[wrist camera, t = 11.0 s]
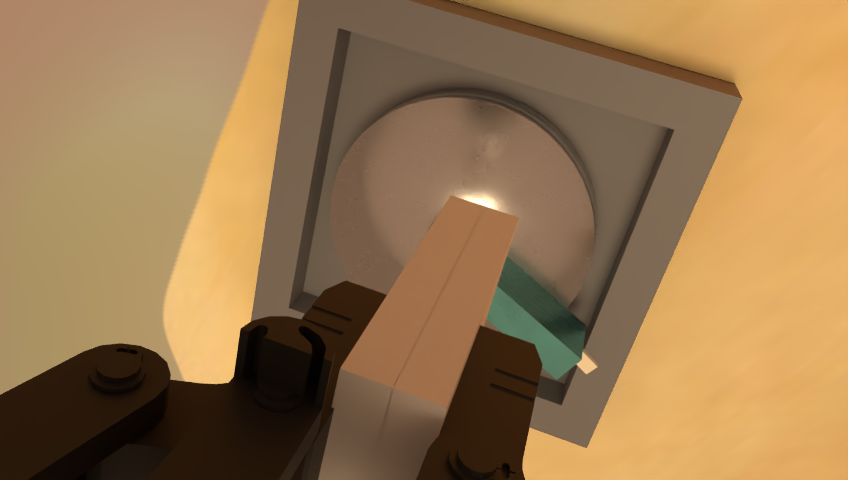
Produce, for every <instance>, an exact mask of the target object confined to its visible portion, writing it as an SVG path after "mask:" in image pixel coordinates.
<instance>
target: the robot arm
mask: <svg viewBox="0 0 848 480" xmlns="http://www.w3.org/2000/svg"><path fill="white" fill-rule="evenodd" d="M518 220H519V217H516V216H513V215H510V214H507V213H504V212H501V211H498V210H495V209H492V208H489V207H486V206H483V205H479V204H476V203H473V202H470V201H467V200H464V199H461V198H458V197H455V196H452V195H451V196H450V197H449V199H448V201H447V202H446V204H445V205H444V207H443V208H442V210H441V211H440V213H439V215H438V216H437V218H436V219H435V221H434V222H433V224H432V226H431V227H430V229H429V230H428V232H427V233H426V235H425V237H424V238H423V240H422V241H421V243H420V244H419V246H418V247H417V249H416V251H415V252H414V254H413V255H412V257H411V258H410V260H409V262H408V263H407V265H406V266H405V268H404V269H403V271H402V273H401V274H400V276H399V277H398V279H397V280H396V282H395V283H394V285H393V287H392V288H391V290H390V291H389V293H388V294H387V295H386V294H383V293H381V292H378V291H375V290H372V289H369V288H366V287H363V286H360V285H358V284H355V283H352V282H349V281H343V282H341V283H339V284H337V285H334V286H332V287H330V288H328V289H325V290H324V291H323V292H322V294H321V295H320V296H319V297H318V299H317V300H316V301H315V302H314V304H313V305H312V307H311V308H309V310H308V311H307V312H306V313H305V315H304V316H303V317H302V319H298V318H293V317H289V316H268V317H264V318H260V319H257V320H253V321H251V322H250V323H248V324H247V325H245V326H244V327H242V328H241V330H240V337H239V344H238V351H237V358H236V365H235V372H234V377H233V378H232V380H231V381H230V382H229V383H224V384H201V383H193V382H185V381H176V380H170V376H171V375H170V371H169V368H168V364H167V362H166V361H165V360H164V359H163V358H162V357H161V356H159V355H158V354H157V353H156V352H154V351H151V350H149V349H146V348H144V347H142V346H137V345H129V344H111V345H102V346H98V347H95V348H93V349H90V350H87V351H84V352H82V353H80V354H78V355H76V356H74V357H72V358H70V359H69V360H66V361H65V362H63V363H61V364H59V365H57V366H55V367H53V368H51V369H49V370H47V371H45V372H44V373H42V374H40V375H38V376H36V377H34V378H32V379H30V380H28V381H26V382H24V383H22V384H20V385H18V386H17V387H15V388H13V389H11V390H9V391H7V392H5V393H3V394H1V395H0V480H525V478H524V474H523V470H522V463H523V455H524V451H525V446H526V441H527V436H528V432H529V427H530V422H531V417H532V413H533V408H534V401H535V398H536V394H537V389H538V384H539V379H540V375H541V370H542V365H543V364H542V362H541V359H540V357H539V354H538V351H537V349H536V346H535V344H533V343H530V342H527V341H524V340H521V339H519V338H516V337H513V336H510V335H507V334H504V333H501V332H498V331H496V330H493V329H490V328H487V327H484V324H485V321H486V318H487V315H488V312H489V309H490V306H491V303H492V300H493V297H494V294H495V291H496V288H497V285H498V282H499V278H500V275H501V272H502V269H503V266H504V263H505V260H506V257H507V254H508V251H509V248H510V245H511V242H512V239H513V236H514V233H515V230H516V226H517V223H518Z"/></svg>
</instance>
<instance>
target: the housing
mask: <svg viewBox="0 0 848 480" xmlns="http://www.w3.org/2000/svg"><path fill="white" fill-rule="evenodd" d="M454 88H458V89H477V90H483V91H490V92H493V93H497V94H500V95H504V96H507V97H509V98H512V99H514V100H516V101H519V102H521V103H523V104H525V105H527V106H528V107H530V108H532V109H533V110H535V111H537V112H538V113H540V114H541V115H542V116H544V117H545V118H546V119H547V120H549V121H550V122H551V123H553V124H554V125H555V126H556V127H557V128H558V129H559V130H560V131H561V132H562V133H563V134H564V136H565V137H566V138H567V139H568V140H569V142H570V143H571V144H572V146H573V147H574V148H575V150H576V151H577V153H578V154H579V156H580V158H581V160H582V162H583V163H584V165H585V167H586V170H587V172H588V175H589V177H590V180H591V183H592V186H593V191H594V195H595V199H596V210H597V225H596V237H595V244H594V251H593V256H592V261H591V265H590V268H589V271H588V274H587V276H586V279H585V282H584V283H583V285H582V287H581V289H580V291H579V292H578V294H577V296H576V297H575V299H574V300H573V301H572V302H571V304H570V305H569V306H568V308H567V309H568V310H569V311H570V312H571V313H573V314H574V315H575V316H576V317H577V318H578V319H579V320H580V321H582V322H583V323H584V324H585V325H586V330H585V338H584V346H583V353H582V360H581V361H580V362H578V363H577V364H576V365H575V366H573V367H572V368H571V369H570V370H568V371H567V372H566V373H565V374H563V375H562V376H561V377H560V378H558V379H557V380H556V379H555V378H554V377H553V376H552V375H550V374H549V373H548V372H547V371H546V370H545V369H543V368H542V370H541V375H540V379H539V384H538V389H537V394H536V398H535V401H534V408H533V413H532V417H531V422H530V428H533V429H536V430H538V431H541V432H544V433H547V434H549V435H552V436H555V437H558V438H560V439H563V440H566V441H569V442H571V443H574V444H577V445H580V446H582V447H585V448H587V446H588V444H589V442H590V439H591V437H592V435H593V433H594V430H595V428H596V426H597V424H598V422H599V419H600V417H601V415H602V413H603V410H604V408H605V406H606V404H607V401H608V399H609V397H610V395H611V392H612V390H613V388H614V386H615V383H616V381H617V379H618V377H619V374H620V372H621V370H622V368H623V365H624V363H625V361H626V359H627V356H628V354H629V352H630V350H631V347H632V345H633V343H634V341H635V338H636V336H637V334H638V332H639V330H640V327H641V325H642V323H643V321H644V318H645V316H646V314H647V312H648V309H649V307H650V305H651V303H652V300H653V298H654V296H655V294H656V291H657V289H658V287H659V285H660V282H661V280H662V278H663V276H664V273H665V271H666V269H667V267H668V264H669V262H670V260H671V258H672V255H673V253H674V251H675V249H676V246H677V244H678V242H679V240H680V237H681V235H682V233H683V231H684V229H685V226H686V224H687V222H688V220H689V217H690V215H691V213H692V211H693V208H694V206H695V204H696V202H697V199H698V197H699V195H700V193H701V190H702V188H703V186H704V184H705V181H706V179H707V177H708V175H709V172H710V170H711V168H712V166H713V163H714V161H715V159H716V157H717V154H718V152H719V150H720V148H721V145H722V143H723V141H724V139H725V137H726V134H727V132H728V130H729V128H730V125H731V123H732V121H733V119H734V116H735V114H736V112H737V110H738V107H739V105H740V103H741V101H742V97H741V95H740V93H739V91H738V89H737V87H736V85H735V84H734V83H730V82H727V81H724V80H720V79H717V78H713V77H710V76H706V75H703V74H700V73H696V72H693V71H689V70H686V69H682V68H679V67H676V66H672V65H669V64H665V63H662V62H658V61H655V60H652V59H648V58H645V57H641V56H638V55H634V54H631V53H628V52H624V51H621V50H617V49H614V48H611V47H607V46H604V45H600V44H597V43H593V42H590V41H587V40H583V39H580V38H576V37H573V36H569V35H566V34H563V33H559V32H556V31H552V30H549V29H545V28H542V27H539V26H535V25H532V24H528V23H525V22H521V21H518V20H515V19H511V18H508V17H504V16H501V15H498V14H494V13H491V12H487V11H484V10H480V9H477V8H474V7H470V6H467V5H463V4H460V3H456V2H453V1H450V0H299V5H298V11H297V18H296V25H295V31H294V38H293V44H292V51H291V58H290V64H289V71H288V78H287V84H286V91H285V98H284V104H283V111H282V118H281V124H280V131H279V138H278V144H277V151H276V158H275V164H274V171H273V178H272V184H271V191H270V198H269V204H268V211H267V218H266V224H265V231H264V237H263V244H262V251H261V257H260V264H259V271H258V277H257V284H256V291H255V297H254V304H253V311H252V317H251V321H253V320H257V319H260V318H264V317H268V316H289V317H293V318H298V319H302V317H303V316H304V315H305V313H306V312H307V311H308V310H309V308H311V307H312V305H313V304H314V302H315V301H316V300H317V299H318V297H319V296H320V295H321V294H322V292H323V291H324V290H325V289H328V288H330V287H332V286H334V285H337V284H339V283H341V282H343V281H349V282H352V281H351V280H350V278H349V277H348V275H347V273H346V271H345V269H344V267H343V265H342V263H341V261H340V259H339V256H338V253H337V251H336V248H335V244H334V240H333V235H332V231H331V221H330V202H331V195H332V189H333V184H334V181H335V178H336V175H337V172H338V169H339V167H340V165H341V163H342V161H343V159H344V157H345V155H346V153H347V152H348V151H349V149H350V148H351V146H352V145H353V143H354V142H355V141H356V140H357V139H358V138H359V137H360V136H361V134H362V133H363V132H364V131H365V130H366V129H368V128H369V127H370V126H371V125H372V124H373V123H375V122H376V121H377V120H378V119H379V118H381V117H382V116H383V115H384V114H386V113H387V112H388V111H389V110H391V109H392V108H394V107H396V106H397V105H399V104H401V103H403V102H404V101H406V100H409V99H411V98H414V97H416V96H418V95H421V94H425V93H429V92H433V91H437V90H445V89H454Z"/></svg>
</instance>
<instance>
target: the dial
mask: <svg viewBox="0 0 848 480" xmlns="http://www.w3.org/2000/svg"><path fill="white" fill-rule="evenodd" d="M451 195H452V196H455V197H458V198H461V199H464V200H467V201H470V202H473V203H476V204H479V205H483V206H486V207H489V208H492V209H495V210H498V211H501V212H504V213H507V214H510V215H513V216H516V217H519V220H518V223H517V226H516V230H515V233H514V236H513V239H512V242H511V245H510V248H509V251H508V254H507V257H506V260H505V263H504V266H503V269H502V272H501V275H500V278H499V282H498V285H497V288H496V291H495V294H494V297H493V300H492V303H491V306H490V309H489V312H488V315H487V318H486V321H485V324H484V327H487V328H490V329H493V330H496V331H498V332H501V333H504V334H507V335H510V336H513V337H516V338H519V339H521V340H524V341H527V342H530V343H533V344H535V346H536V349H537V351H538V354H539V357H540V359H541V362H542V364H543V365H542V368H543V369H545V370H546V371H547V372H548V373H549V374H550V375H552V376H553V377H554V378H555V379H556V380H557V379H558V378H560V377H561V376H562V375H563V374H565V373H566V372H567V371H568V370H570V369H571V368H572V367H573V366H575V365H576V364H577V363H578V362H580V361H581V360H582V353H583V346H584V338H585V330H586V325H585V324H584V323H583V322H582V321H580V320H579V319H578V318H577V317H576V316H575V315H574V314H573V313H571V312H570V311H569V310H568V309H567V308H568V306H569V305H570V304H571V302H572V301H573V300H574V299H575V297H576V296H577V294H578V292H579V291H580V289H581V287H582V285H583V283H584V282H585V279H586V276H587V274H588V271H589V268H590V265H591V261H592V256H593V251H594V244H595V237H596V225H597V210H596V199H595V195H594V191H593V186H592V183H591V180H590V177H589V175H588V172H587V170H586V167H585V165H584V163H583V162H582V160H581V158H580V156H579V154H578V153H577V151H576V150H575V148H574V147H573V146H572V144H571V143H570V142H569V140H568V139H567V138H566V137H565V136H564V134H563V133H562V132H561V131H560V130H559V129H558V128H557V127H556V126H555V125H554V124H553V123H551V122H550V121H549V120H547V119H546V118H545V117H544V116H542V115H541V114H540V113H538V112H537V111H535V110H533V109H532V108H530V107H528V106H527V105H525V104H523V103H521V102H519V101H516V100H514V99H512V98H509V97H507V96H504V95H500V94H497V93H493V92H490V91H483V90H477V89H458V88H454V89H445V90H437V91H433V92H429V93H425V94H421V95H418V96H416V97H414V98H411V99H409V100H406V101H404V102H403V103H401V104H399V105H397V106H396V107H394V108H392V109H391V110H389V111H388V112H387V113H386V114H384V115H383V116H382V117H381V118H379V119H378V120H377V121H376V122H375V123H373V124H372V125H371V126H370V127H369V128H368V129H366V130H365V131H364V132H363V133H362V134H361V136H360V137H359V138H358V139H357V140H356V141H355V142H354V143H353V145H352V146H351V148H350V149H349V151H348V152H347V153H346V155H345V157H344V159H343V161H342V163H341V165H340V167H339V169H338V172H337V175H336V178H335V181H334V184H333V189H332V195H331V202H330V221H331V231H332V235H333V240H334V244H335V248H336V251H337V253H338V256H339V259H340V261H341V263H342V265H343V267H344V269H345V271H346V273H347V275H348V277H349V278H350V280H351V281H352V283H355V284H358V285H360V286H363V287H366V288H369V289H372V290H375V291H378V292H381V293H383V294H386V295H387V294H388V293H389V291H390V290H391V288H392V287H393V285H394V283H395V282H396V280H397V279H398V277H399V276H400V274H401V273H402V271H403V269H404V268H405V266H406V265H407V263H408V262H409V260H410V258H411V257H412V255H413V254H414V252H415V251H416V249H417V247H418V246H419V244H420V243H421V241H422V240H423V238H424V237H425V235H426V233H427V232H428V230H429V229H430V227H431V226H432V224H433V222H434V221H435V219H436V218H437V216H438V215H439V213H440V211H441V210H442V208H443V207H444V205H445V204H446V202H447V201H448V199H449V197H450V196H451Z"/></svg>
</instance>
